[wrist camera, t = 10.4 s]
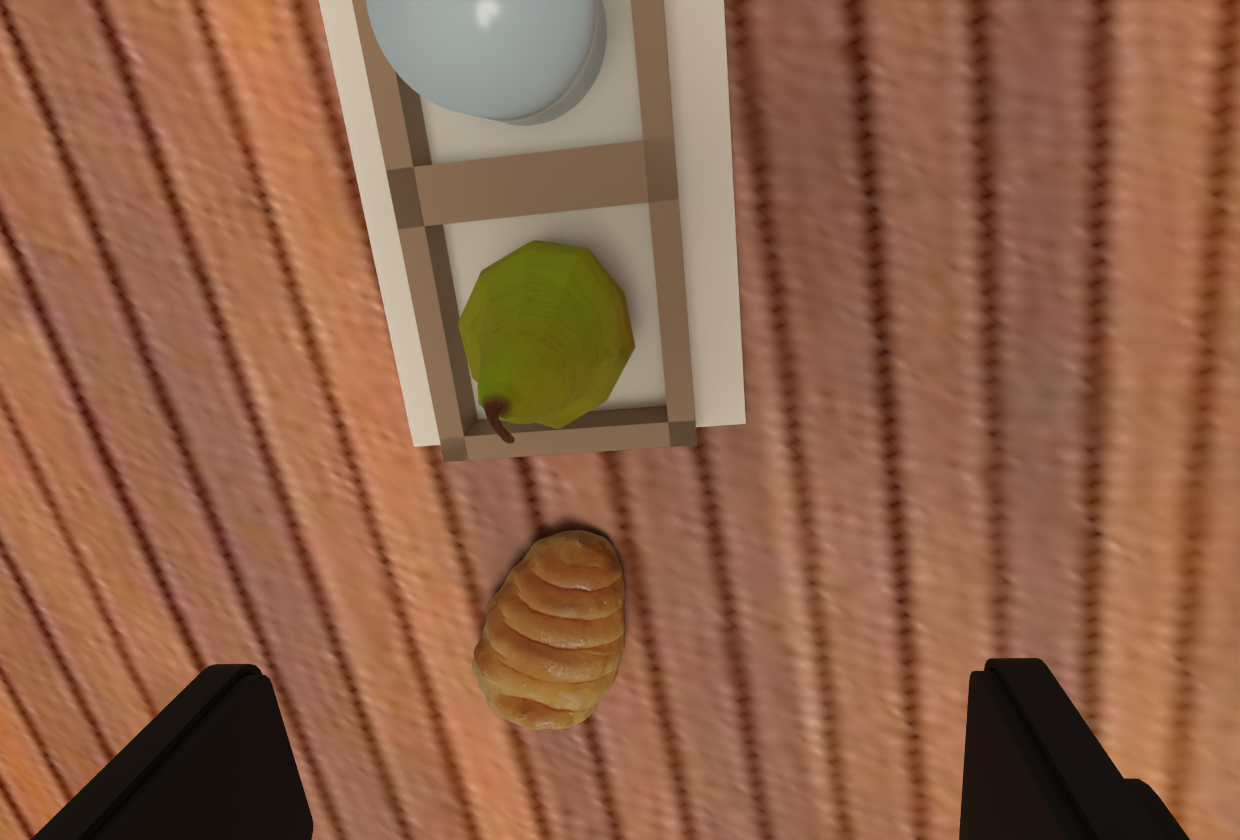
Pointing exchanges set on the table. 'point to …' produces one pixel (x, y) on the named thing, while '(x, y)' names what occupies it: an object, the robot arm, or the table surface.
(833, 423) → the table surface
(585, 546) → the pastry
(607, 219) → the tray
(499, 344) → the fruit
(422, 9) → the pale blue rounded block
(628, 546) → the table surface
